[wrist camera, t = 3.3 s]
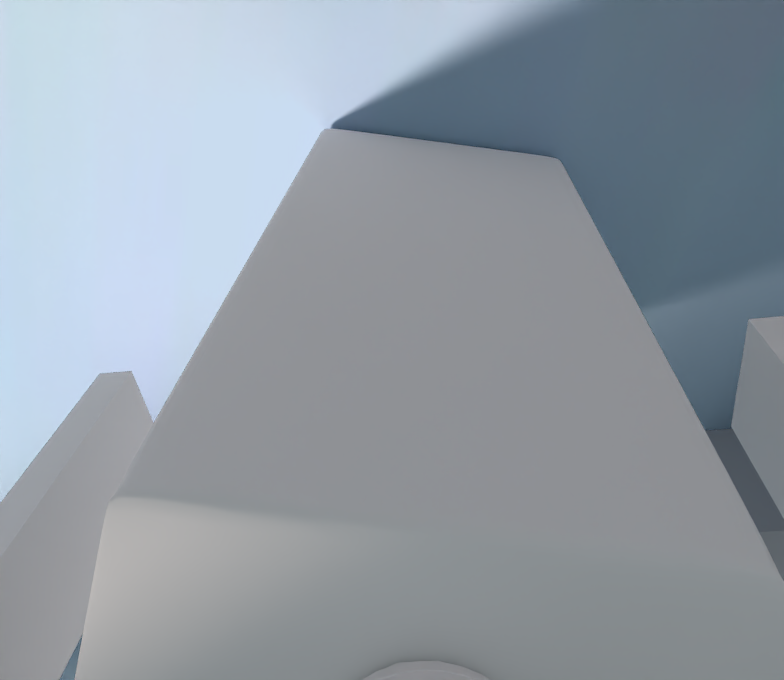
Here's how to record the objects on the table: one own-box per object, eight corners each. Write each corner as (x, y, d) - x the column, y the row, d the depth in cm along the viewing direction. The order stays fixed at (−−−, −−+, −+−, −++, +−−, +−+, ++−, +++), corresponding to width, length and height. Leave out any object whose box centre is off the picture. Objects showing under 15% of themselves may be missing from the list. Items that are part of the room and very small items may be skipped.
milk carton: (511, 354, 23) (675, 1303, 7) (311, 328, 23) (27, 1229, 7) (561, 155, 20) (1143, 1218, 3) (323, 124, 19) (-228, 1060, 3)
